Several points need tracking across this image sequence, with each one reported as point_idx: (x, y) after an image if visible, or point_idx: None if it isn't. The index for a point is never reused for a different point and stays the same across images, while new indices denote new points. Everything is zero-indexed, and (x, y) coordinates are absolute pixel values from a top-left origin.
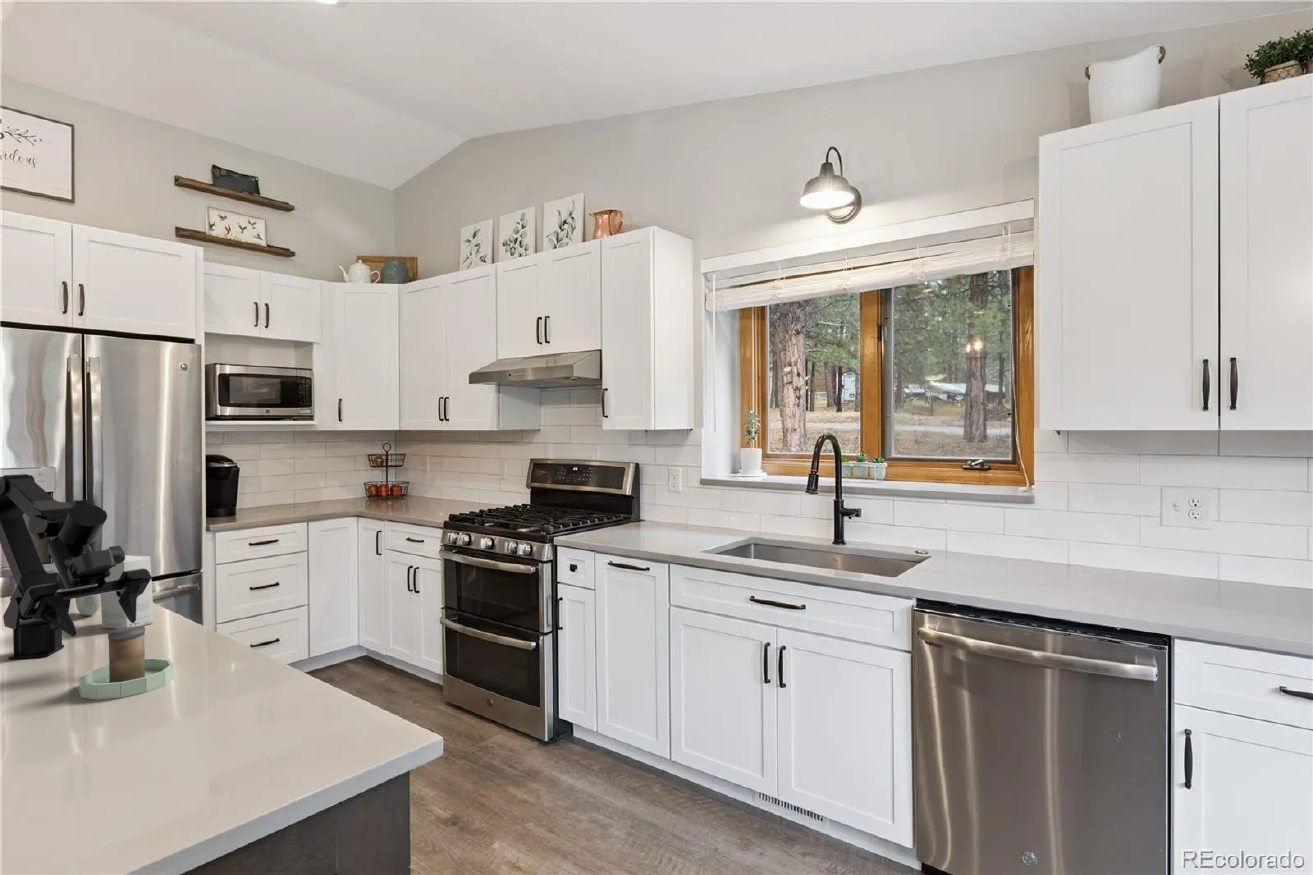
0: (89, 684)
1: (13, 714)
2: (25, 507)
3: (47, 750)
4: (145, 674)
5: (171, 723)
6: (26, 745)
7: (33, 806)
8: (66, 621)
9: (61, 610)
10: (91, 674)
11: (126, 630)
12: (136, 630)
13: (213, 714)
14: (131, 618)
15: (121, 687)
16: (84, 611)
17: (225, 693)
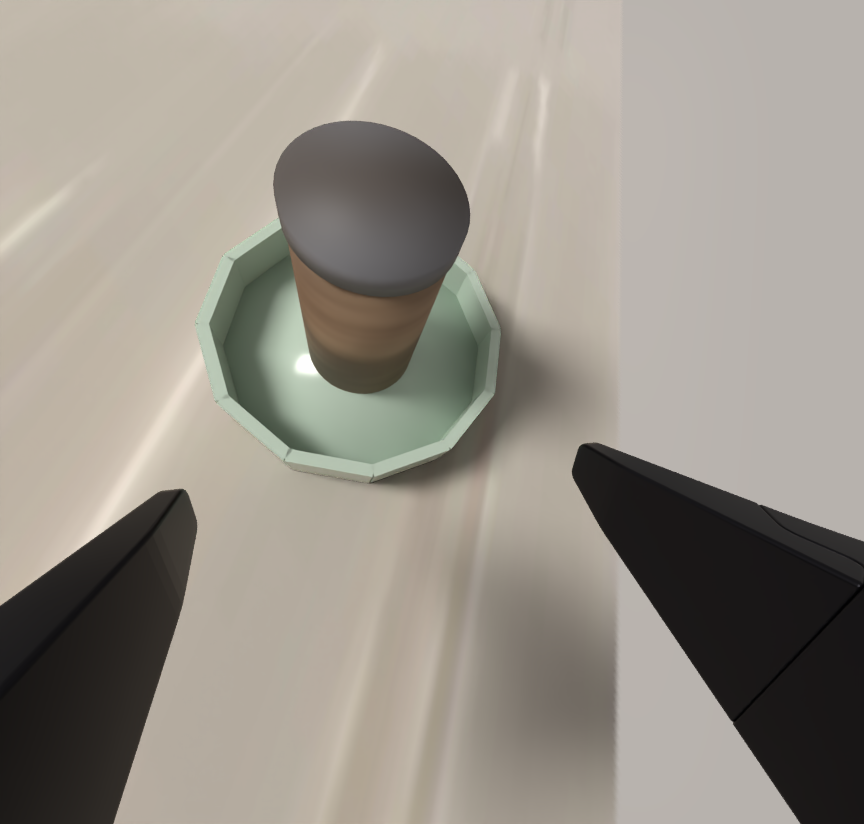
0: (485, 297)
1: (614, 367)
2: None
3: (577, 128)
4: (291, 367)
5: (399, 45)
6: (600, 175)
7: (603, 6)
8: (698, 485)
9: (852, 551)
10: (445, 436)
11: (377, 197)
12: (338, 152)
13: (324, 9)
14: (180, 529)
15: None
16: None
17: (230, 67)
